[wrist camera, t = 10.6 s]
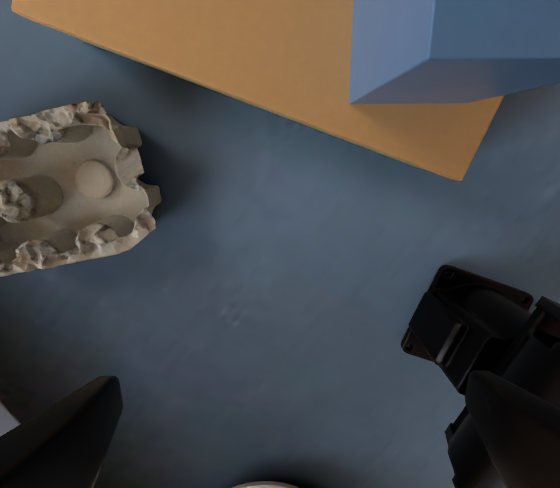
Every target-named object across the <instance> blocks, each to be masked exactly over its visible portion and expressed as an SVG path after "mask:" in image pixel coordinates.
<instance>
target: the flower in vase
mask: <svg viewBox="0 0 560 488" xmlns="http://www.w3.org/2000/svg"><path fill="white" fill-rule="evenodd" d="M232 488H299V487H296V486H293V485H290V484H286V483H281V482H274V481H259V482H250V483H245V484H241V485H237V486H235V487H232Z"/></svg>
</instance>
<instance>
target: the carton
mask: <svg viewBox="0 0 560 488" xmlns="http://www.w3.org/2000/svg"><path fill="white" fill-rule="evenodd" d="M557 83H560V0H354V4H353V27H352V49H351V71H350V93H349V104H415V103H470V102H475V101H479V100H484V99H489V98H493V97H498V96H502V95H507V94H512V93H516V92H521V91H525V90H530V89H534V88H539V87H544V86H548V85H553V84H557Z"/></svg>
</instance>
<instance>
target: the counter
mask: <svg viewBox="0 0 560 488" xmlns="http://www.w3.org/2000/svg"><path fill="white" fill-rule="evenodd" d="M353 4H354V0H12V8H11V10H12V11H13V12H15V13H17V14H19V15H21V16H23V17H25V18H27V19H29V20H32V21H34V22H37V23H40V24H42V25H45V26H47V27H50V28H53V29H55V30H58V31H61V32H63V33H66V34H69V35H71V36H73V37H75V38H76V39H78V40H80V41H83V42H86V43H88V44H91V45H94V46H96V47H99V48H101V49H104V50H107V51H109V52H112V53H115V54H117V55H120V56H123V57H125V58H128V59H131V60H133V61H136V62H138V63H141V64H144V65H146V66H149V67H152V68H154V69H157V70H160V71H162V72H165V73H168V74H170V75H173V76H176V77H178V78H181V79H183V80H186V81H189V82H191V83H194V84H197V85H199V86H202V87H205V88H207V89H210V90H213V91H215V92H218V93H220V94H223V95H226V96H228V97H231V98H234V99H236V100H239V101H242V102H244V103H247V104H250V105H252V106H255V107H257V108H260V109H263V110H265V111H268V112H271V113H273V114H276V115H279V116H281V117H284V118H287V119H289V120H292V121H294V122H297V123H300V124H302V125H305V126H308V127H310V128H313V129H316V130H318V131H321V132H324V133H326V134H329V135H331V136H334V137H337V138H339V139H342V140H345V141H347V142H350V143H353V144H355V145H358V146H361V147H363V148H366V149H369V150H371V151H374V152H376V153H379V154H382V155H384V156H387V157H390V158H392V159H395V160H398V161H400V162H403V163H406V164H408V165H411V166H413V167H416V168H419V169H423V170H428V171H430V172H433V173H436V174H438V175H441V176H444V177H446V178H449V179H452V180H457V181H462V180H463V178H464V176H465V174H466V172H467V170H468V168H469V166H470V164H471V162H472V160H473V158H474V156H475V154H476V152H477V150H478V148H479V146H480V144H481V142H482V140H483V138H484V136H485V134H486V132H487V130H488V128H489V126H490V124H491V122H492V120H493V118H494V116H495V114H496V112H497V110H498V108H499V106H500V104H501V102H502V100H503V98H504V96H505V95H502V96H498V97H493V98H489V99H484V100H479V101H475V102H470V103H415V104H349V93H350V71H351V49H352V27H353Z"/></svg>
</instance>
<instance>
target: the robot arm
mask: <svg viewBox="0 0 560 488" xmlns="http://www.w3.org/2000/svg"><path fill="white" fill-rule="evenodd" d="M448 270H449V271H450V272H449V274H448V275H446V276H445V272H446V271H448ZM523 298H525V299H524V300H523V301H521V300H522V299H523ZM532 302H533V297H532V295H530V294H528V293H527V292H525V291H522V290H519V289H517V288H514V287H511V286H508V285H505V284H502V283H499V282H496V281H494V280H491V279H488V278H485V277H482V276H479V275H476V274H474V273H471V272H468V271H465V270H462V269H459V268H456V267H454V266H451V265H443V266H441V267H440V268H439V270H438V272H437V274H436V275H435V277H434V279H433V281H432V283H431V285H430V287H429V289H428V291H427V292H426V293H424V295H423V297H422V299H421V301H420V303H419V305H418V307H417V309H416V311H415V313H414V315H413V317H412V319H411V321H410V323H409V328H408V330H407V332H406V334H405V336H404V338H403V340H402V341H401V347H402V349H403V350H404V352H406V353H408V354H411V355H414V356H417V357H420V358H424V359H427V360H430V361H433V362H435V364H437V365H439V367H440V368H441V369H442V371H443V372H444V373H445V375H446V376H447V377H448V379H449V380H450V382H451V383H452V384H453V386H454V387H455V388H456V390H457V391H458V392H459V393H460V394H463V395H465V402H466V406H465V408H464V409H463V411H462V412H461V413H460V415H459V416H458V418H457V419H456V420H455V422H454V423H450V425H449V426H448V427H447V429H446V430H445V434H446V439H447V443H448V455H449V457H450V460H451V463H452V466H453V469H454V473H455V475H454V477H453V479H452V481H453V484H454V487H455V488H560V304H559V303H557V302H554V301H552V300H550V299H548V298H546V297H543V296H541V298H540V299H539V300H538V302H537V303H536V305H535V306H537V308H536V309H535V310H534V312H533V313H532V314H531V313H530V312H528V309H529V307H530V306H531V304H532ZM408 344H412V345H411V346H410V347H407V345H408ZM122 408H123V401H122V395H121V389H120V383H119V379H118V378H117V377H116V376H100V377H98V378H96V379H95V380H93V381H91V382H90V383H88V384H86V385H85V386H83V387H81V388H80V389H78V390H77V391H75V392H73V393H72V394H70V395H68V396H67V397H65V398H63V399H62V400H60V401H58V402H57V403H55V404H53V405H52V406H50V407H49V408H47V409H45V410H44V411H42V412H40V413H39V414H37V415H35V416H34V417H32V418H30V419H29V420H27V421H25V422H24V423H22V424H20V425H19V426H17V427H16V428H14V429H12V430H11V431H9V432H7V433H6V434H4V435H2V436H1V437H0V488H93V486H94V483H95V481H96V479H97V477H98V474H99V472H100V469H101V467H102V464H103V462H104V459H105V456H106V453H107V451H108V448H109V445H110V443H111V440H112V437H113V434H114V432H115V429H116V426H117V424H118V421H119V418H120V415H121V412H122Z"/></svg>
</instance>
